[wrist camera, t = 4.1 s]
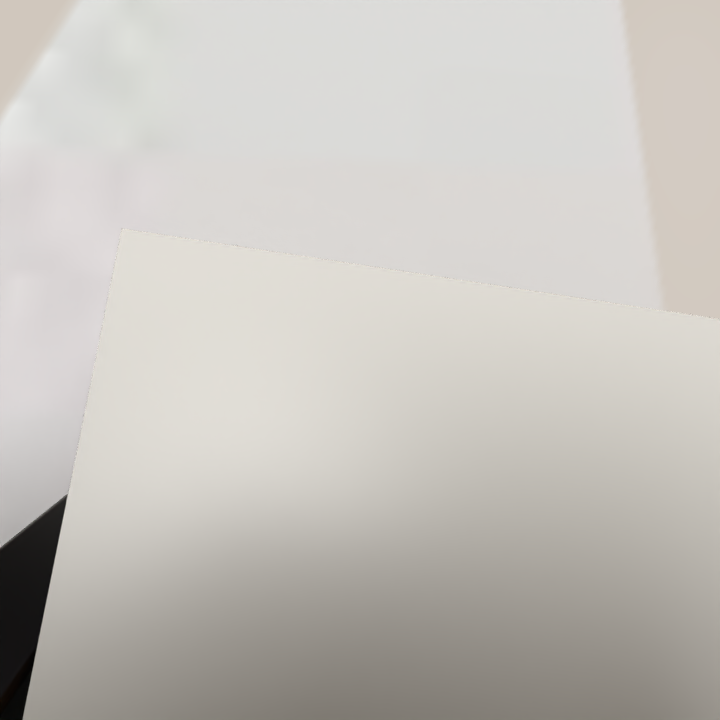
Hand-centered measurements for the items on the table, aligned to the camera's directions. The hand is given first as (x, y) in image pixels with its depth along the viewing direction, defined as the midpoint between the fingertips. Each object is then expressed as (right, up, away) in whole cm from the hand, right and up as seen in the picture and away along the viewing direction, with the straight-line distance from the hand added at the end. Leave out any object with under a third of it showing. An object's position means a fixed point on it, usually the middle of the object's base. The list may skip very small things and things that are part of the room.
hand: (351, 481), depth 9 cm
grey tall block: (-1, -3, +6) cm, 7 cm away
